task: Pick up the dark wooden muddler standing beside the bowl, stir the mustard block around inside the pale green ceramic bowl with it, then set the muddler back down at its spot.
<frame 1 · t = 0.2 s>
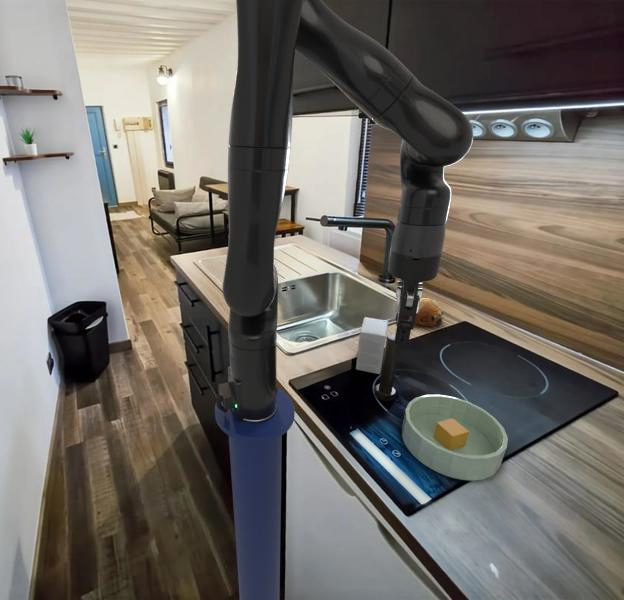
hand: (401, 332, 67), 18 cm above the worktop, tool pointing down, fingers open, 8 cm apart
muddler: (384, 394, 78), on the worktop
bread roll: (423, 319, 107), on the worktop
block: (448, 441, 65), point 1 cm above the worktop, touching bowl
bowl: (448, 444, 66), on the worktop
small box: (369, 364, 89), on the worktop
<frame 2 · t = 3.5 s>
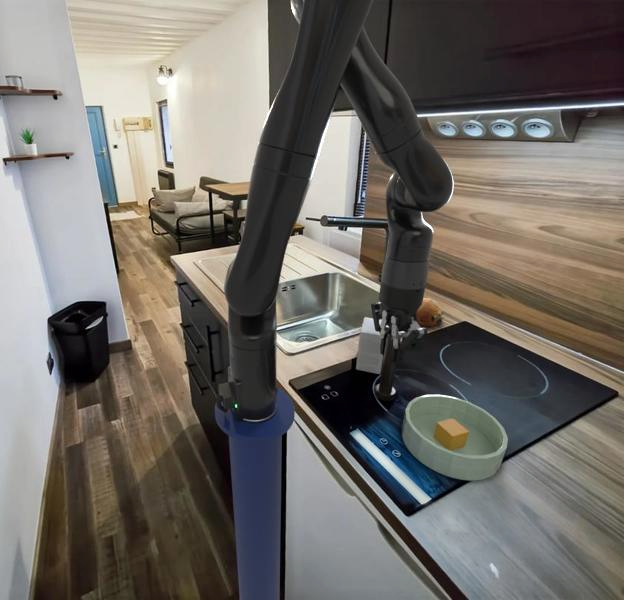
hand: (390, 357, 74), 10 cm above the worktop, tool pointing down, fingers closed on muddler, 2 cm apart
muddler: (384, 394, 78), on the worktop, touching gripper
everything else where it was.
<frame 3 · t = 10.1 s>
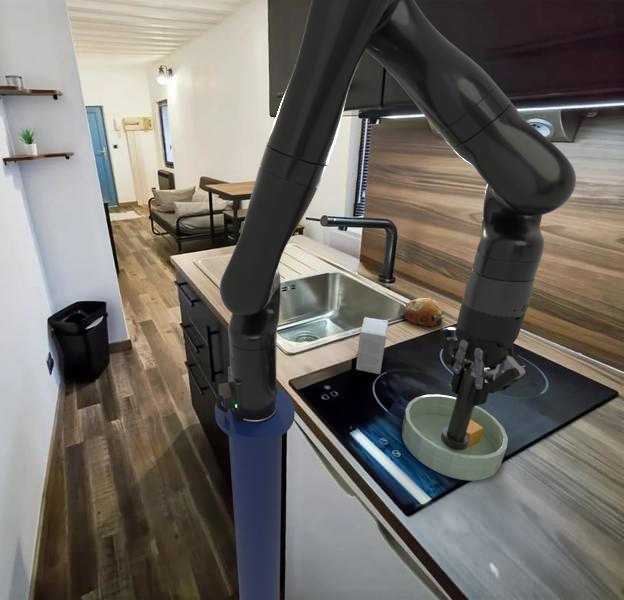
hand: (466, 397, 59), 12 cm above the worktop, tool pointing down, fingers closed on muddler, 2 cm apart
muddler: (453, 441, 63), point 2 cm above the worktop, touching block, gripper
block: (463, 439, 66), point 1 cm above the worktop, touching bowl, muddler
everything else where it was.
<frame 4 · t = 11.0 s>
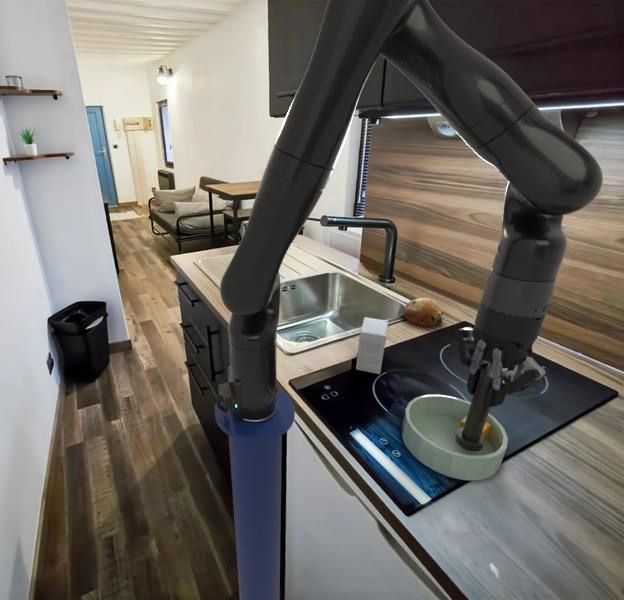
hand: (482, 398, 59), 12 cm above the worktop, tool pointing down, fingers closed on muddler, 2 cm apart
muddler: (468, 442, 63), point 2 cm above the worktop, touching block, gripper
block: (471, 437, 66), point 1 cm above the worktop, touching bowl, muddler
everything else where it was.
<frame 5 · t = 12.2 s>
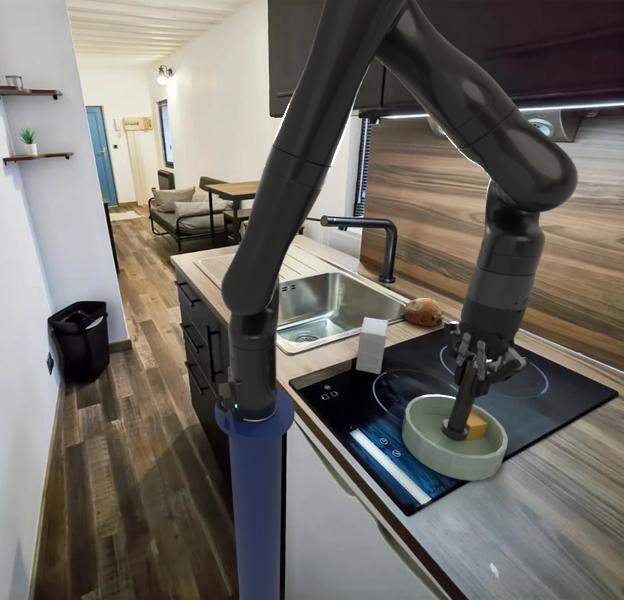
hand: (469, 389, 61), 12 cm above the worktop, tool pointing down, fingers closed on muddler, 2 cm apart
muddler: (453, 433, 65), point 2 cm above the worktop, touching gripper
block: (467, 432, 67), point 1 cm above the worktop, touching bowl
everything else where it was.
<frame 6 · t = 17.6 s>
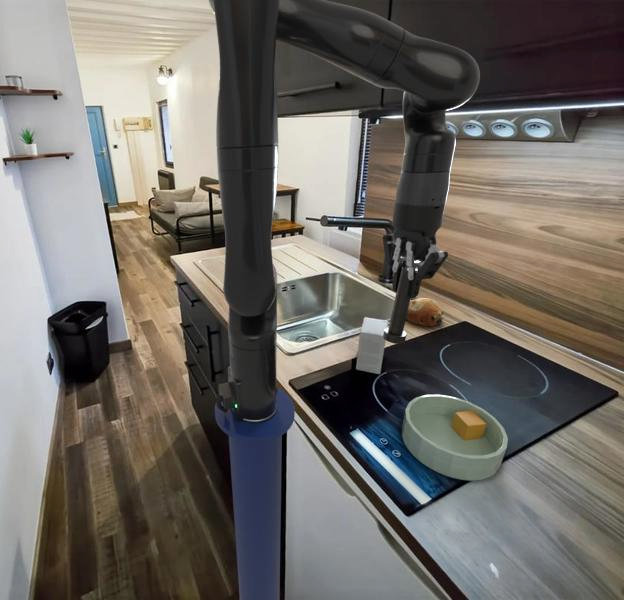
hand: (404, 293, 67), 24 cm above the worktop, tool pointing down, fingers closed on muddler, 2 cm apart
muddler: (393, 338, 71), point 15 cm above the worktop, touching gripper
everything else where it was.
when the fingers open (10 cm above the worktop, at t = 21.7 s): muddler stays where it is, on the worktop.
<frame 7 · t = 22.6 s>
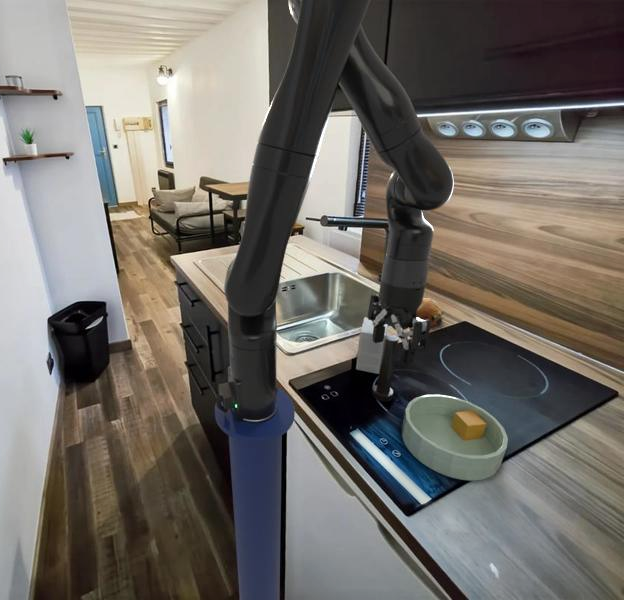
hand: (391, 352, 74), 11 cm above the worktop, tool pointing down, fingers open, 8 cm apart
muddler: (382, 395, 78), on the worktop
everything else where it was.
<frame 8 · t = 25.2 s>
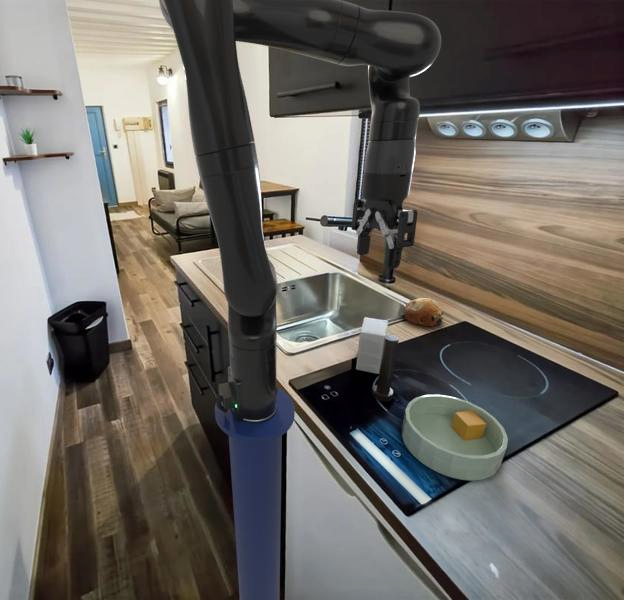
hand: (376, 260, 68), 30 cm above the worktop, tool pointing down, fingers open, 8 cm apart
nothing on the worktop moved.
at the end: block moved 4.7 cm from its start; block 4.7 cm from the bowl (horizontally); muddler inside the target area (0.8 cm from its centre), on the worktop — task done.
